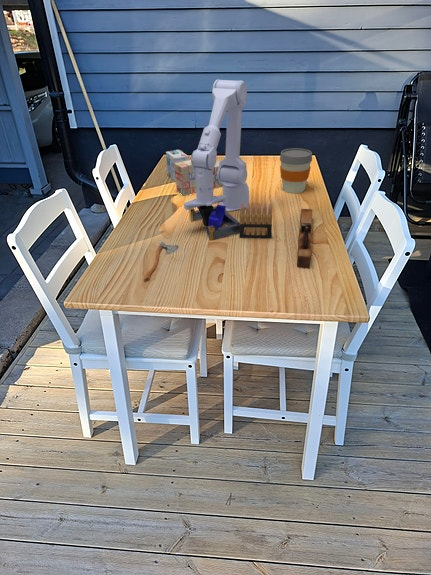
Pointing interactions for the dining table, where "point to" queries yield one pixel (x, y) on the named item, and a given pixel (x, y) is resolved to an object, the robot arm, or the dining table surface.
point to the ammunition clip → (256, 222)
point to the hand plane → (304, 239)
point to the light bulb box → (174, 161)
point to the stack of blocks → (191, 177)
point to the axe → (168, 250)
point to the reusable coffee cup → (295, 169)
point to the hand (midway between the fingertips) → (205, 225)
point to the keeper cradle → (222, 231)
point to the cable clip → (217, 217)
